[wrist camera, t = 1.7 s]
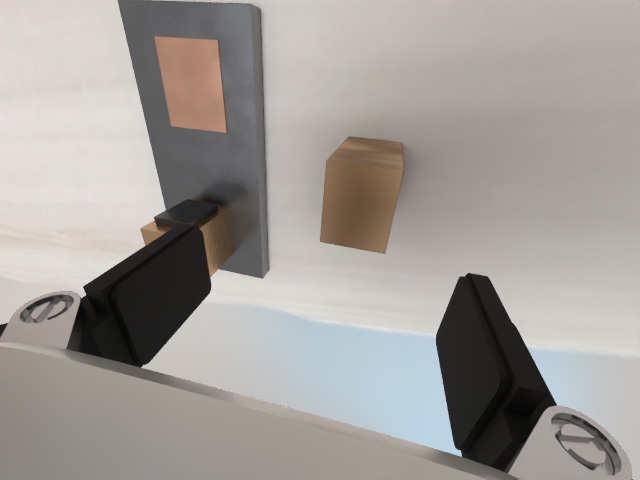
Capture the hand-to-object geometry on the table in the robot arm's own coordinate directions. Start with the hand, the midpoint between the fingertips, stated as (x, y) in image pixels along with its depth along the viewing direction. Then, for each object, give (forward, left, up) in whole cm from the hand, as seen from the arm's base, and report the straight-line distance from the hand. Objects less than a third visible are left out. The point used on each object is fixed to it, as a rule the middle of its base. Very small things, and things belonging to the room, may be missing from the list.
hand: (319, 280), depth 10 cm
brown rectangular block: (-1, 0, -15) cm, 15 cm away
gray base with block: (+13, +1, -15) cm, 20 cm away
